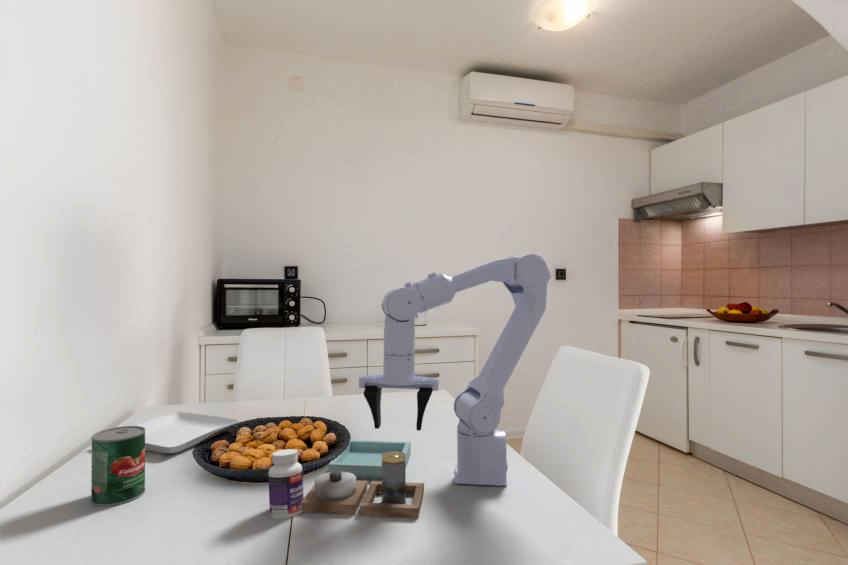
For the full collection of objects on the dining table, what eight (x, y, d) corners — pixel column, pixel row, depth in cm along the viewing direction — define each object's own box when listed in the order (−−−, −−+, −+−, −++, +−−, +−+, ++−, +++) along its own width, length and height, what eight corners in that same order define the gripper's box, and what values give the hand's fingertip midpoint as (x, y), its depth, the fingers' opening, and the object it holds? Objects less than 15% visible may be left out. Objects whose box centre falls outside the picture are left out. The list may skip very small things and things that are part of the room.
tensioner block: (424, 491, 83) (424, 466, 83) (418, 518, 73) (418, 489, 73) (318, 487, 85) (318, 462, 85) (300, 512, 75) (300, 484, 75)
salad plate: (172, 462, 97) (172, 445, 97) (98, 450, 104) (98, 435, 104) (242, 431, 117) (242, 418, 117) (176, 423, 124) (176, 410, 124)
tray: (410, 453, 101) (410, 441, 101) (401, 480, 88) (401, 467, 88) (347, 451, 103) (347, 439, 103) (328, 477, 89) (328, 464, 89)
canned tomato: (133, 504, 78) (133, 438, 78) (81, 508, 77) (81, 441, 77) (152, 484, 86) (152, 424, 86) (105, 487, 84) (105, 426, 84)
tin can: (406, 498, 80) (406, 451, 80) (403, 509, 76) (403, 460, 76) (384, 497, 81) (384, 450, 81) (379, 508, 77) (379, 459, 77)
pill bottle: (296, 520, 73) (293, 456, 74) (263, 520, 74) (261, 457, 74) (309, 506, 78) (306, 446, 79) (279, 506, 79) (276, 448, 80)
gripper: (440, 351, 89) (439, 423, 89) (365, 349, 90) (364, 419, 90) (437, 357, 82) (436, 434, 82) (356, 355, 83) (355, 431, 83)
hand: (398, 427), depth 86 cm, fingers open, 7 cm apart
